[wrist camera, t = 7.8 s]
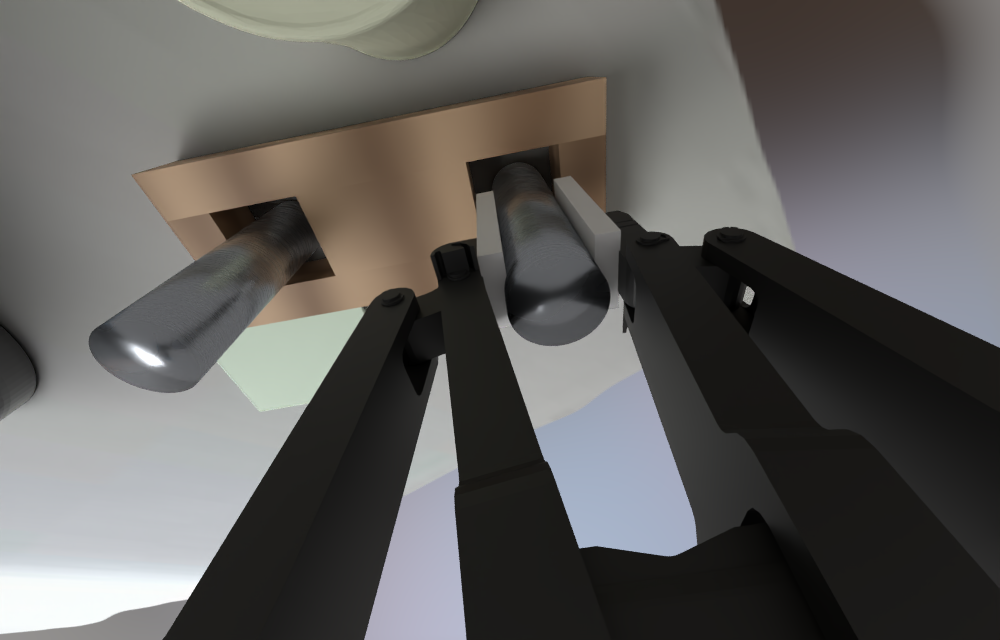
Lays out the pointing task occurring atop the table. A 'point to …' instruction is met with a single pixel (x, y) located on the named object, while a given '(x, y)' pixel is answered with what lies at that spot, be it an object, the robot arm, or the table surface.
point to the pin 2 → (545, 263)
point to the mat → (288, 357)
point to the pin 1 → (204, 305)
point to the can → (347, 22)
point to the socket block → (381, 188)
